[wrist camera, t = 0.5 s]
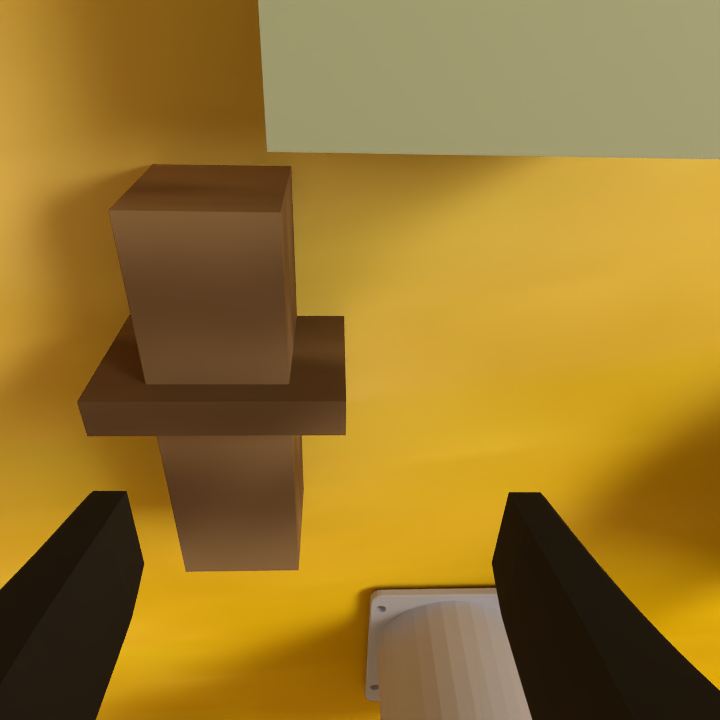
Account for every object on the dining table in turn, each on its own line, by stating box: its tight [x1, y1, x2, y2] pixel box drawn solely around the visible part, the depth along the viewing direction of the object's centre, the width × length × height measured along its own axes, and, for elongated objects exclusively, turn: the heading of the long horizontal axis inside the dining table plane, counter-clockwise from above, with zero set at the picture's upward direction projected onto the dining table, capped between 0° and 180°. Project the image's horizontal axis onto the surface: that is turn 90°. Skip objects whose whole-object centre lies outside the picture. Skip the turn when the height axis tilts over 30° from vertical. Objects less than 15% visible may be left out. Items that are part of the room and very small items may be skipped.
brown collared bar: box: [77, 164, 346, 572], centre depth 19 cm, size 13×7×5 cm, turn 179°
